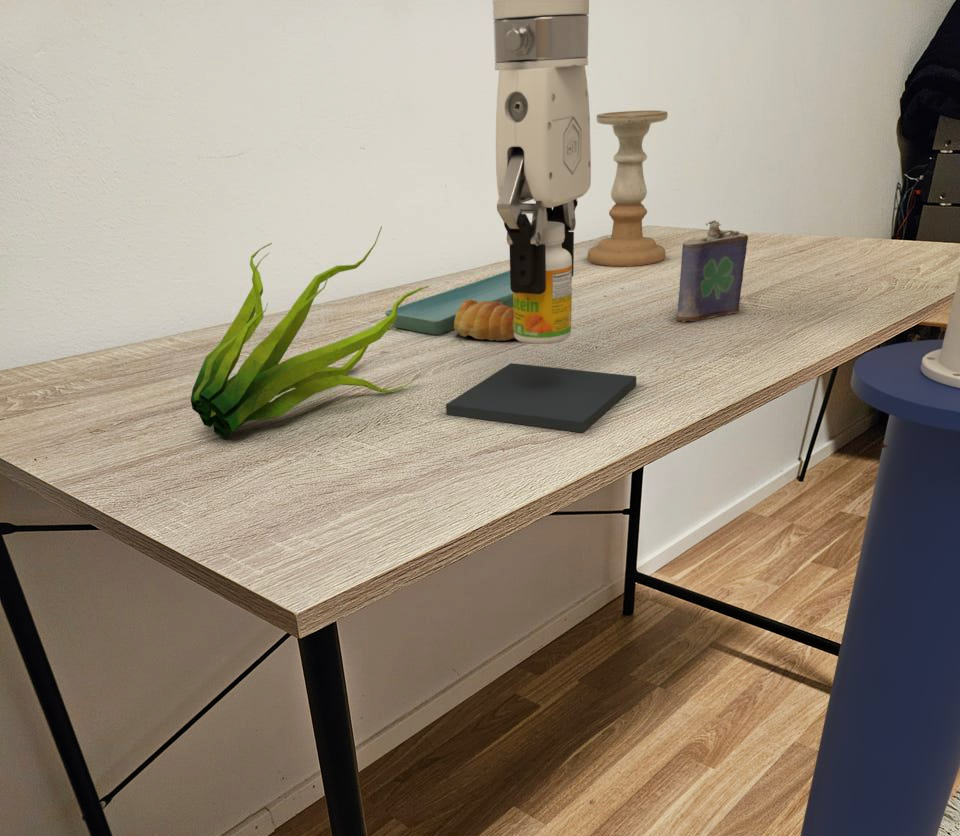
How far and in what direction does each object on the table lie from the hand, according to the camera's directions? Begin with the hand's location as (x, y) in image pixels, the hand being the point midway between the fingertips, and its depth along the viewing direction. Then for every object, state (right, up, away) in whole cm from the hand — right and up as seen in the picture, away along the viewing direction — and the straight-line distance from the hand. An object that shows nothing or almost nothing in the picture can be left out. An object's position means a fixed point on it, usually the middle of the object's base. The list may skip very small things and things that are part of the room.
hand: (542, 282), depth 81 cm
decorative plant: (-23, -7, +11) cm, 26 cm away
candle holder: (+18, +28, +61) cm, 70 cm away
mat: (0, -9, +6) cm, 11 cm away
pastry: (-4, +5, +27) cm, 28 cm away
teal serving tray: (-6, +11, +38) cm, 40 cm away
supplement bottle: (0, -4, +3) cm, 5 cm away
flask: (+23, +8, +30) cm, 38 cm away
